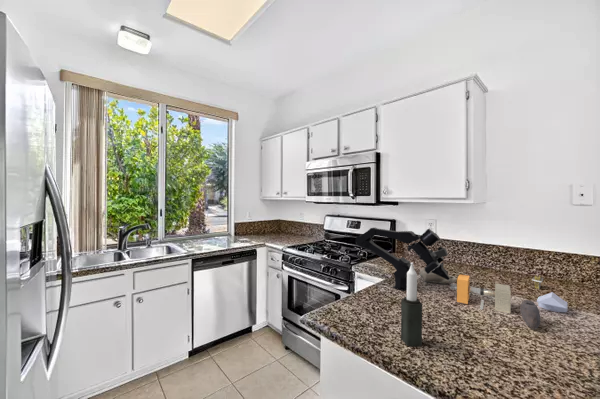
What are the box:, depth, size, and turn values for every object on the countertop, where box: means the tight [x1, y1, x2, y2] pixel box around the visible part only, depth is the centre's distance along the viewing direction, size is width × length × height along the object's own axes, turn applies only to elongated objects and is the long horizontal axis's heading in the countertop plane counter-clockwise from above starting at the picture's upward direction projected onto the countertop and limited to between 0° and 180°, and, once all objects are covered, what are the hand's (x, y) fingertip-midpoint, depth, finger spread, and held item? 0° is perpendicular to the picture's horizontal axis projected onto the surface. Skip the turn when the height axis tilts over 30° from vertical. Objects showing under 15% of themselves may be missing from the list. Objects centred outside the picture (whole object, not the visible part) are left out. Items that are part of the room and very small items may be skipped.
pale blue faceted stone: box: [536, 291, 568, 313], centre depth 111 cm, size 9×7×13 cm
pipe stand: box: [449, 282, 512, 314], centre depth 116 cm, size 22×13×9 cm, turn 54°
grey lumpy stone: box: [419, 267, 457, 285], centre depth 147 cm, size 16×9×15 cm
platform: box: [531, 274, 544, 290], centre depth 140 cm, size 12×18×7 cm, turn 134°
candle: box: [400, 262, 423, 347], centre depth 83 cm, size 5×5×25 cm
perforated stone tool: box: [519, 299, 541, 330], centre depth 97 cm, size 15×5×7 cm, turn 144°
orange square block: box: [456, 274, 471, 305], centre depth 119 cm, size 4×10×10 cm, turn 144°
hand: (448, 279), depth 123 cm, fingers closed
